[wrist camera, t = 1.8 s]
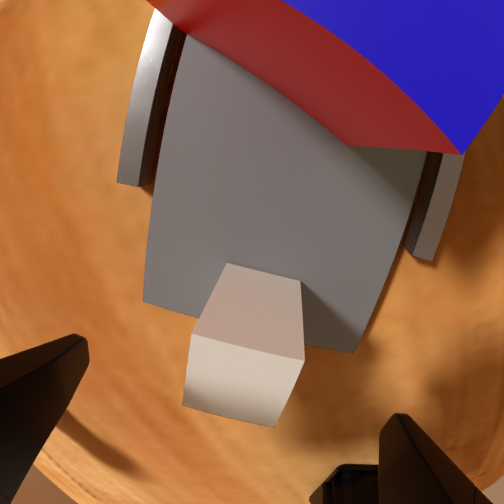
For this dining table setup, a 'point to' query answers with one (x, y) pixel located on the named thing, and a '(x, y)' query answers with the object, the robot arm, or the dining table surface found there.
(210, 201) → the grey panel with knob
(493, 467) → the dining table surface
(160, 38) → the lane rails
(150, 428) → the dining table surface
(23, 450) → the robot arm
